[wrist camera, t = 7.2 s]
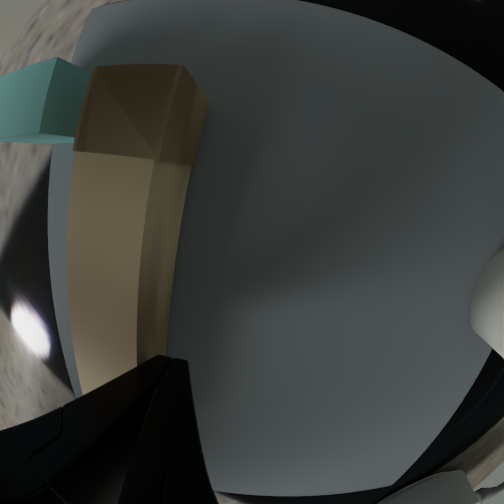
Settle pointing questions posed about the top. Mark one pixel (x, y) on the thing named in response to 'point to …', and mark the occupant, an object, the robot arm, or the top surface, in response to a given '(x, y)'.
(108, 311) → the wooden block
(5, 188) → the top surface
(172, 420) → the robot arm
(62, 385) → the top surface
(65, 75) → the teal rectangular block
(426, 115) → the mat
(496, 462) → the top surface
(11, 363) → the top surface
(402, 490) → the saucepan
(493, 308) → the door stop
